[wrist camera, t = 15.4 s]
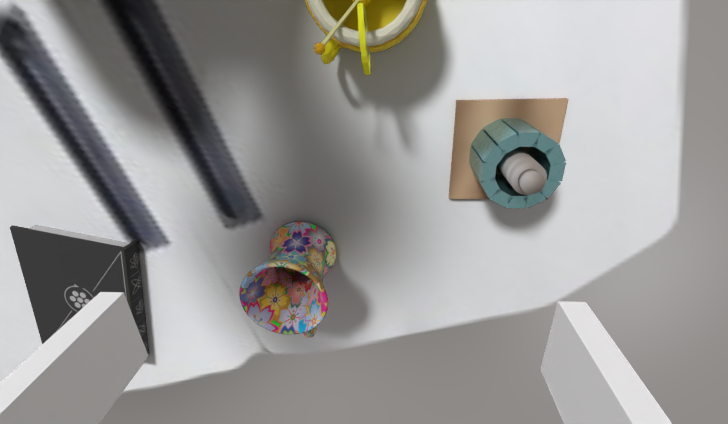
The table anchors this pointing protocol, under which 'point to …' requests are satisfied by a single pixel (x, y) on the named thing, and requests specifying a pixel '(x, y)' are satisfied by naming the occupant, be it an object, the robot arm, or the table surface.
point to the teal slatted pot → (503, 140)
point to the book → (76, 274)
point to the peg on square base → (515, 163)
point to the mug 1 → (291, 281)
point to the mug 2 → (363, 25)
